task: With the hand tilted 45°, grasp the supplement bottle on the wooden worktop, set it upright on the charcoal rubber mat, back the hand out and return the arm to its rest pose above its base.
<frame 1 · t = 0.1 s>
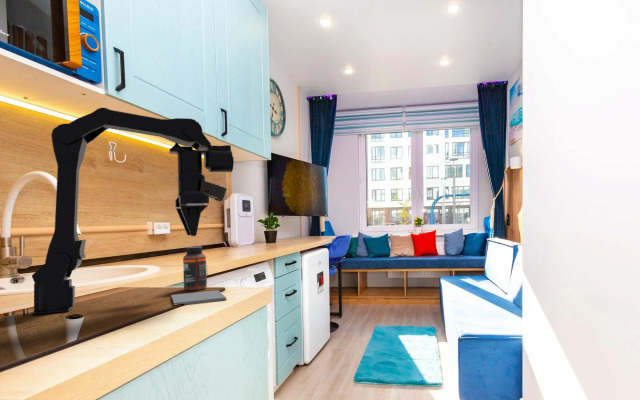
hand: (191, 235, 95), 15 cm above the countertop, tool pointing down, fingers open, 9 cm apart
supplement bottle: (195, 289, 105), on the countertop
charcoal mat: (197, 298, 91), on the countertop
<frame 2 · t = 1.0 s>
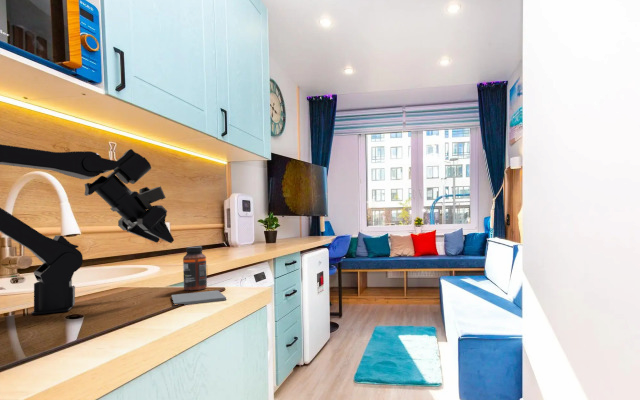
hand: (165, 241, 100), 13 cm above the countertop, tool tilted 45°, fingers open, 9 cm apart
nothing on the countertop moved.
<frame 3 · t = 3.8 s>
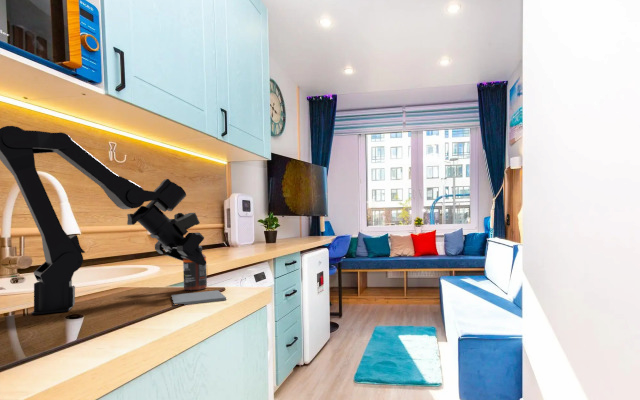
hand: (199, 263, 106), 7 cm above the countertop, tool tilted 45°, fingers closed on supplement bottle, 6 cm apart
supplement bottle: (195, 289, 105), on the countertop, touching gripper
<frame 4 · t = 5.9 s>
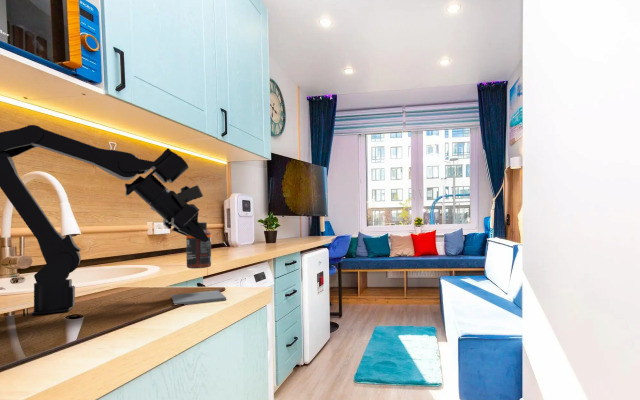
hand: (204, 240, 99), 13 cm above the countertop, tool tilted 45°, fingers closed on supplement bottle, 6 cm apart
supplement bottle: (199, 268, 98), point 6 cm above the countertop, touching gripper
when the fingers open (8 cm above the countertop, at t = 8.0 s): supplement bottle drops 1 cm, resting on charcoal mat.
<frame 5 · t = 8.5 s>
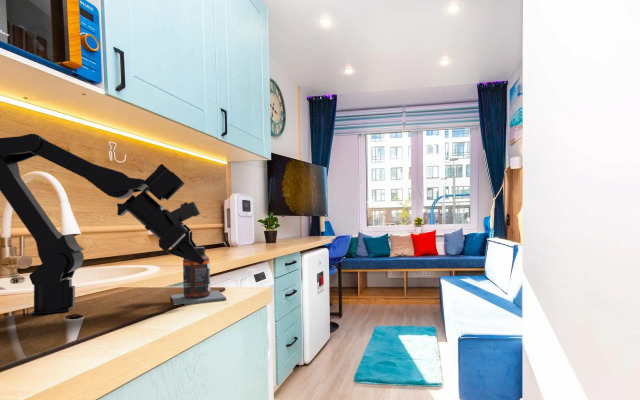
hand: (203, 260, 92), 9 cm above the countertop, tool tilted 45°, fingers open, 9 cm apart
supplement bottle: (197, 297, 91), resting on charcoal mat
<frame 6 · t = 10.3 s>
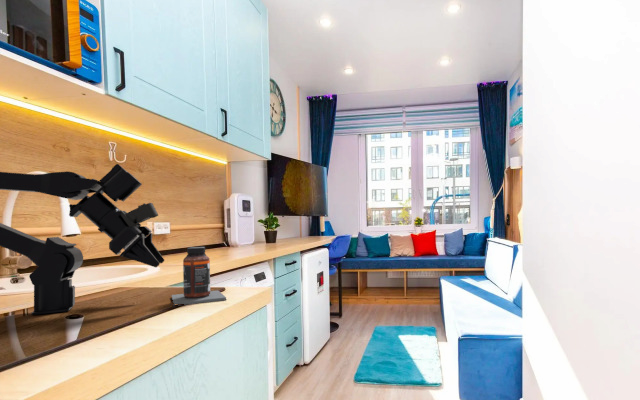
hand: (160, 263, 89), 9 cm above the countertop, tool tilted 45°, fingers open, 9 cm apart
nothing on the countertop moved.
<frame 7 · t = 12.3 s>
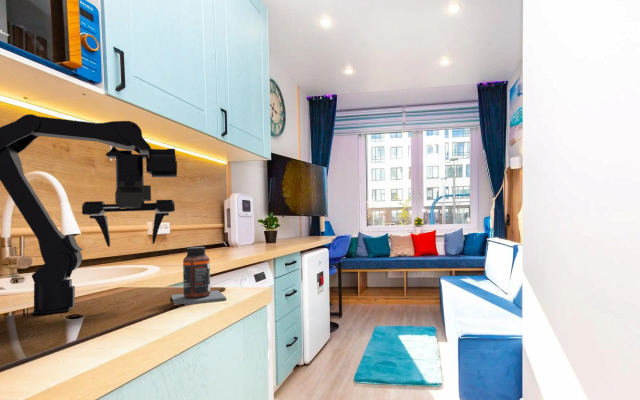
hand: (131, 245, 90), 13 cm above the countertop, tool pointing down, fingers open, 9 cm apart
nothing on the countertop moved.
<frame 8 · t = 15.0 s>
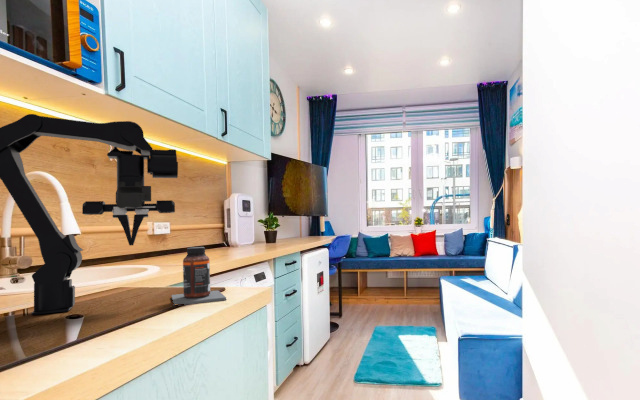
hand: (131, 245, 90), 13 cm above the countertop, tool pointing down, fingers closed
nothing on the countertop moved.
at the end: supplement bottle inside the target area on the charcoal mat (0.2 cm from its centre), point 0.4 cm above the charcoal mat's base; supplement bottle tilted 0°; the gripper is holding nothing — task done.
